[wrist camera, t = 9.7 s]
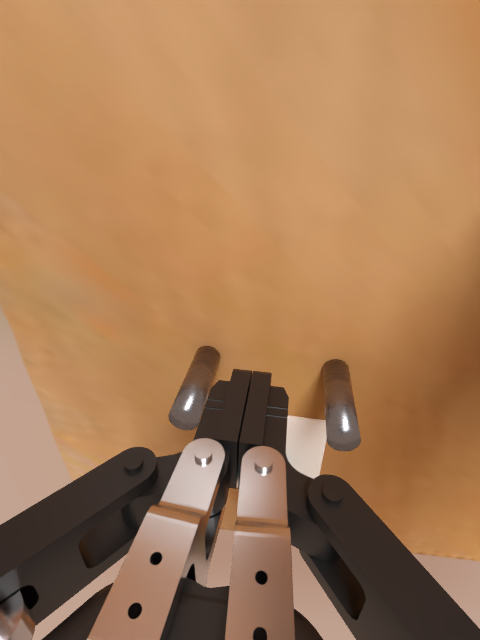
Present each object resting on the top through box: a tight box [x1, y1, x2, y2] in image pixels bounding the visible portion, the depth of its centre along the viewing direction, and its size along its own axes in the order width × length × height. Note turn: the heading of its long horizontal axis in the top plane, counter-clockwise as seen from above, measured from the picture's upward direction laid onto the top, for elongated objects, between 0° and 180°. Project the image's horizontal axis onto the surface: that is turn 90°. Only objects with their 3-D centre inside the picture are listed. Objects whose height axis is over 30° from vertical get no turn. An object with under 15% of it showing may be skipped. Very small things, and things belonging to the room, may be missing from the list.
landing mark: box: [236, 415, 327, 488], centre depth 44 cm, size 14×14×1 cm
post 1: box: [169, 346, 220, 430], centre depth 34 cm, size 3×3×9 cm
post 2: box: [322, 359, 361, 451], centre depth 32 cm, size 3×3×9 cm
